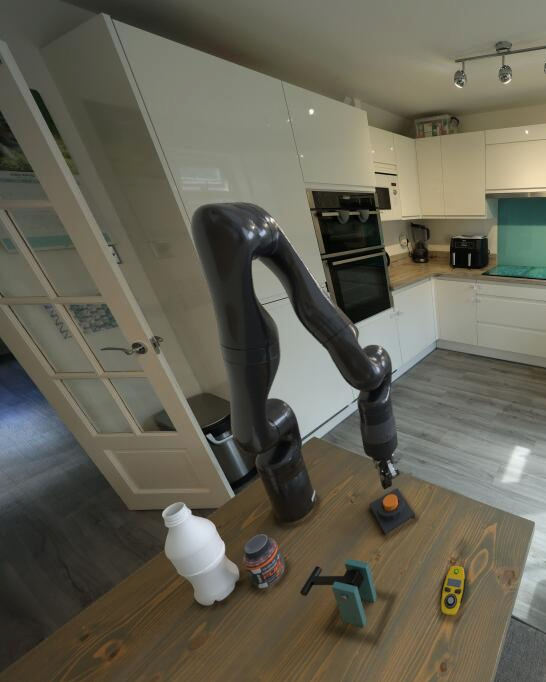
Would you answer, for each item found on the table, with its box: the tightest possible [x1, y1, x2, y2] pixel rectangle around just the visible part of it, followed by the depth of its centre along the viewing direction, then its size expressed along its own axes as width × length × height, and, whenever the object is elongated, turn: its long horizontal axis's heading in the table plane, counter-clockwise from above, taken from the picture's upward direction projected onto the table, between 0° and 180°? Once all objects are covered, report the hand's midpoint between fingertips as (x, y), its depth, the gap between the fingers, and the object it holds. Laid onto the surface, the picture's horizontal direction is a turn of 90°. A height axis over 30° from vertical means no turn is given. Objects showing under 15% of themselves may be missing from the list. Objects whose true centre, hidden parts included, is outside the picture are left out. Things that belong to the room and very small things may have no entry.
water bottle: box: [161, 501, 240, 606], centre depth 60 cm, size 7×7×25 cm
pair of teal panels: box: [331, 558, 378, 628], centre depth 59 cm, size 10×7×13 cm
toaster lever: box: [299, 565, 364, 597], centre depth 59 cm, size 12×4×2 cm, turn 79°
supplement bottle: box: [242, 533, 286, 589], centre depth 65 cm, size 6×6×11 cm
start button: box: [383, 494, 398, 511], centre depth 79 cm, size 4×4×2 cm
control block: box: [368, 487, 416, 536], centre depth 80 cm, size 10×8×4 cm
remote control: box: [440, 565, 466, 616], centre depth 67 cm, size 5×2×15 cm
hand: (387, 485), depth 77 cm, fingers closed
